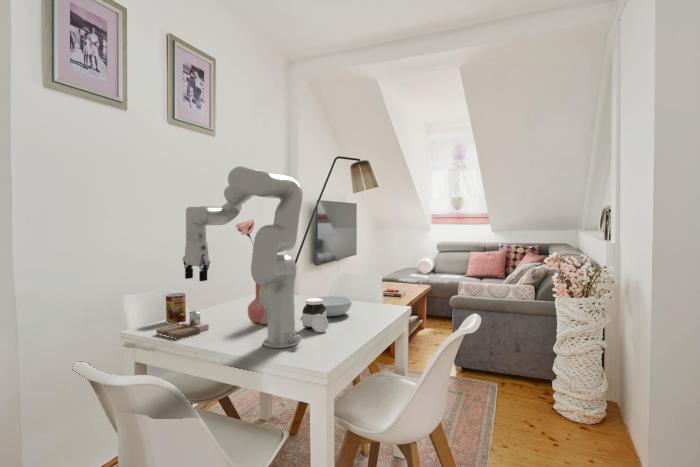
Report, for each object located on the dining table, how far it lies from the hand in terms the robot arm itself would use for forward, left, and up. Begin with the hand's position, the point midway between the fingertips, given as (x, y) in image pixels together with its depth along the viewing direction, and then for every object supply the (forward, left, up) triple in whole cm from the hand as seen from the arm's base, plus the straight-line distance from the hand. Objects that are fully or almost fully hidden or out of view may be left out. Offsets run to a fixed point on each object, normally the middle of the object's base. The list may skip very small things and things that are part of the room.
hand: (196, 279), depth 156 cm
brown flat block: (+1, +8, -21) cm, 22 cm away
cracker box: (-17, -26, -21) cm, 37 cm away
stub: (+1, 0, -21) cm, 21 cm away
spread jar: (-42, -25, -21) cm, 53 cm away
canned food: (+20, -4, -21) cm, 29 cm away
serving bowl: (-32, -48, -21) cm, 61 cm away
